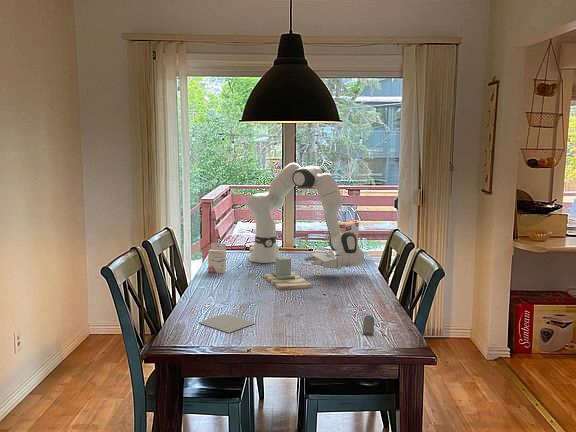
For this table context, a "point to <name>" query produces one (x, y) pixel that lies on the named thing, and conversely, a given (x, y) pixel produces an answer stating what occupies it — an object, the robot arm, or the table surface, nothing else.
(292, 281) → the birch board
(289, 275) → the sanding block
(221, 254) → the ink cartridge box
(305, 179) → the robot arm
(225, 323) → the paper stack
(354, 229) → the cracker box
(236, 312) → the table surface
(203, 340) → the table surface
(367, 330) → the half round rod
